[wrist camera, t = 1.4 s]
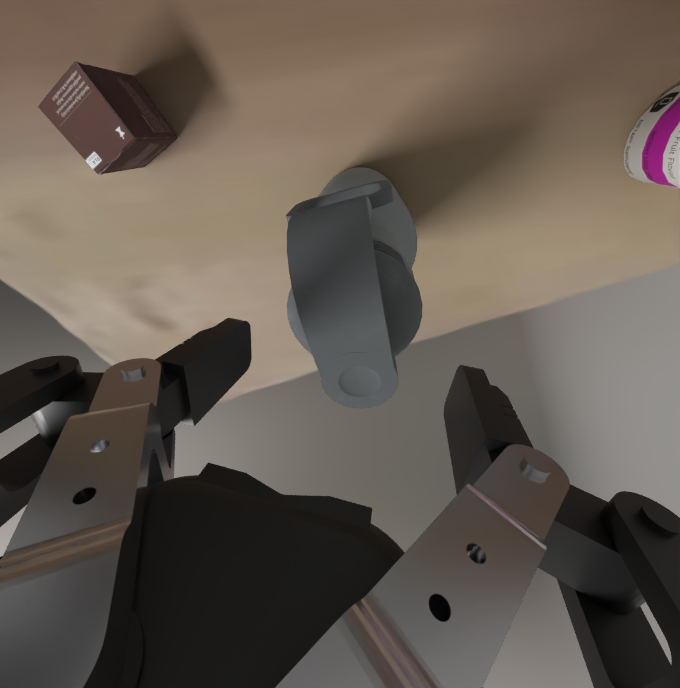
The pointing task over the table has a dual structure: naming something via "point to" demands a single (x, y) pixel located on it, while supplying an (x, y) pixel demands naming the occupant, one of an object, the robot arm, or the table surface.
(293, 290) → the water bottle
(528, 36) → the table surface
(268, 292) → the table surface
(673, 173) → the supplement can
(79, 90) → the box
